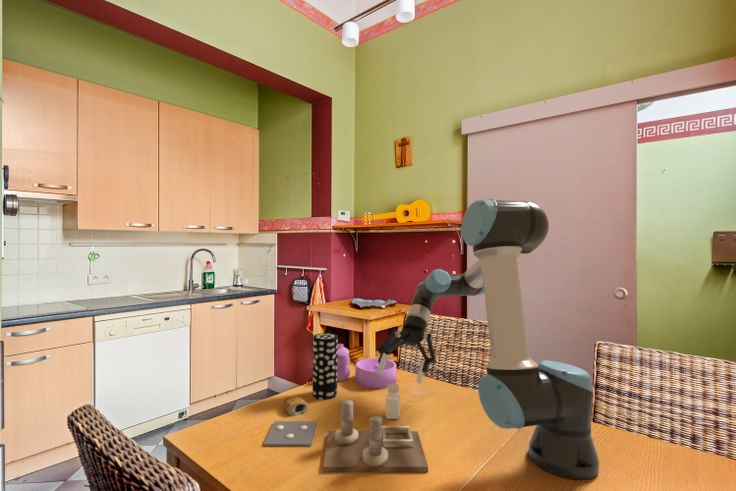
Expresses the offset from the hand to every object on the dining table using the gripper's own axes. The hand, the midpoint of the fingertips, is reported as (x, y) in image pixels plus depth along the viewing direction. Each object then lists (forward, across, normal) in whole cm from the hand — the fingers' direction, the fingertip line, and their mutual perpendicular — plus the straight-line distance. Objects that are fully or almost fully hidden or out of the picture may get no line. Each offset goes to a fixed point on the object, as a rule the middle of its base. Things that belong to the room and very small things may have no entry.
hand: (398, 377), depth 118 cm
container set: (-4, +22, -18) cm, 28 cm away
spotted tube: (+9, +26, -5) cm, 28 cm away
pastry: (+19, +28, +5) cm, 34 cm away
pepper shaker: (+11, -1, -3) cm, 12 cm away
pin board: (+25, -5, +11) cm, 27 cm away
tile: (+27, +18, +13) cm, 36 cm away
